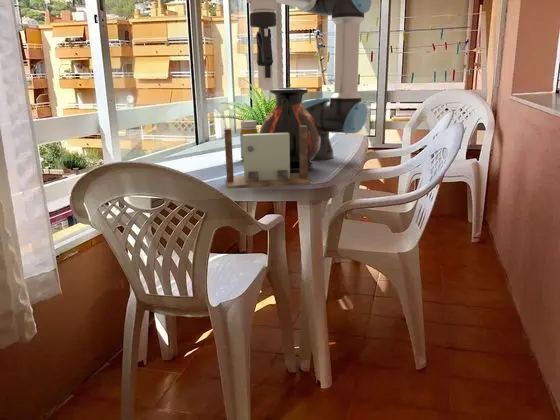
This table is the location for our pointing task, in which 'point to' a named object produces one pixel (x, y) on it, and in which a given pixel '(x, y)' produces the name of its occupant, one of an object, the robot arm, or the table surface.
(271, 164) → the beige flat panel
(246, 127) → the bottle
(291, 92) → the amphora vase
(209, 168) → the table surface
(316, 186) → the table surface
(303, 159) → the cabinet frame
